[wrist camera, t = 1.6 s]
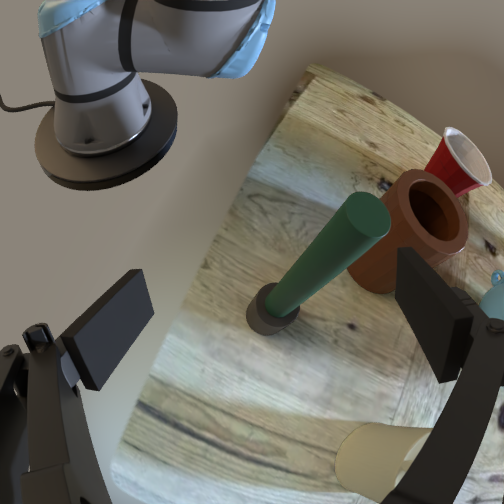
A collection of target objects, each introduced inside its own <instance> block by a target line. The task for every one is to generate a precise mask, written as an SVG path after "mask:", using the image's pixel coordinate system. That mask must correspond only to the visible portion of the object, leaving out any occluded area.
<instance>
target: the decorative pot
mask: <svg viewBox="0 0 504 504" xmlns="http://www.w3.org/2000/svg"><path fill="white" fill-rule="evenodd" d="M498 274H499V275H500V277H501V279H500V280H499V281H498ZM491 282H492V285H493V286H494V287H493V288H491V289H490V290H489V291H488V292H487V293H486V294H485V295H484V297H483V299H482V300H481V302H480V304H479V307H480V308H481V309H482V310H483V311H484V313H485V314H486V315H487V316H488V317H489V318H498V319H501V320H504V272H503V271H502V270H495V271H494V272H493V273H492V276H491Z"/></svg>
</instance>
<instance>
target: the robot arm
mask: <svg viewBox="0 0 504 504" xmlns="http://www.w3.org/2000/svg"><path fill="white" fill-rule="evenodd" d="M274 10H275V0H44V1H43V3H42V4H41V6H40V7H39V10H38V24H39V37H40V38H41V42H42V46H43V50H44V54H45V58H46V62H47V66H48V70H49V73H50V77H51V81H52V85H53V87H54V91H55V95H56V99H55V101H46V102H39V103H35V104H31V105H27V106H23V107H18V108H10V107H7V106H5V105H4V103H3V101H2V98H1V95H0V107H1V108H2V109H3V110H4V111H7V112H20V111H24V110H29V109H33V108H37V107H42V106H55V113H54V131H55V135H56V138H57V141H58V143H59V145H60V147H61V148H62V149H63V150H64V151H66V152H67V153H69V154H71V155H73V156H77V157H82V158H96V157H102V156H107V155H110V154H113V153H116V152H118V151H120V150H122V149H124V148H126V147H128V146H130V145H131V144H133V143H134V142H135V141H136V140H138V139H139V138H140V137H141V136H142V135H143V134H144V132H145V131H146V130H147V128H148V126H149V124H150V122H151V118H152V105H151V101H150V97H149V95H148V93H147V91H146V89H145V87H144V85H143V83H142V81H141V79H140V77H139V75H138V73H137V72H149V73H166V74H179V75H190V76H200V77H206V78H215V77H219V78H232V79H235V78H239V77H242V76H244V75H246V74H247V73H248V72H249V71H250V70H251V68H252V67H253V65H254V64H255V62H256V60H257V58H258V56H259V54H260V52H261V50H262V47H263V45H264V42H265V40H266V37H267V33H268V29H269V26H270V24H271V21H272V18H273V14H274ZM395 299H396V301H397V302H398V304H399V306H400V308H401V310H402V311H403V313H404V315H405V317H406V319H407V321H408V323H409V324H410V326H411V328H412V330H413V332H414V334H415V336H416V338H417V340H418V342H419V344H420V345H421V347H422V349H423V351H424V353H425V355H426V357H427V359H428V361H429V364H430V366H431V368H432V370H433V372H434V374H435V376H436V378H437V380H438V382H439V384H440V383H445V382H449V381H453V380H457V378H458V375H459V371H460V368H462V371H461V373H460V375H459V378H458V380H457V382H456V384H455V386H454V389H453V391H452V393H451V395H450V397H449V399H448V401H447V403H446V405H445V407H444V409H443V411H442V413H441V415H440V417H439V418H438V420H437V422H436V424H435V426H434V428H433V429H432V431H431V433H430V435H429V436H428V438H427V440H426V442H425V443H424V445H423V447H422V448H421V450H420V451H419V453H418V455H417V456H416V458H415V459H414V461H413V462H412V464H411V466H410V467H409V469H408V470H407V472H406V473H405V474H404V476H403V477H402V479H401V480H400V482H399V483H398V484H397V486H396V487H395V488H394V489H393V490H392V491H390V492H389V493H388V495H387V496H386V497H385V498H384V499H383V501H382V502H381V503H380V504H453V502H454V500H455V498H456V496H457V495H458V493H459V491H460V489H461V487H462V485H463V483H464V481H465V479H466V477H467V474H468V472H469V470H470V468H471V466H472V463H473V461H474V459H475V457H476V454H477V452H478V449H479V447H480V444H481V442H482V439H483V437H484V434H485V431H486V429H487V426H488V423H489V420H490V417H491V414H492V411H493V408H494V405H495V402H496V398H497V395H498V392H499V388H500V386H504V320H501V319H498V318H489V317H488V316H487V315H486V314H485V313H484V311H483V310H482V309H481V308H480V307H479V306H478V305H477V304H476V302H475V301H474V300H473V299H471V297H470V296H469V295H468V294H467V293H466V292H465V291H463V290H462V289H460V288H458V287H452V288H450V287H449V286H448V285H447V284H446V283H445V282H444V280H443V279H442V278H441V277H440V276H439V275H438V274H437V273H436V272H435V271H434V270H433V269H432V267H431V266H430V265H429V264H428V263H427V262H426V261H425V260H424V259H423V258H422V257H421V256H420V255H419V254H418V253H417V252H416V251H415V250H414V249H413V248H412V247H400V248H397V271H396V290H395ZM153 315H154V310H153V307H152V303H151V300H150V296H149V293H148V289H147V286H146V282H145V279H144V275H143V271H142V269H132V270H129V271H128V272H127V273H126V274H125V275H124V276H123V277H122V278H121V279H119V280H118V281H117V282H116V283H115V284H114V285H113V286H112V287H110V289H108V290H107V291H106V292H105V293H104V294H103V295H102V296H101V297H100V298H99V299H98V300H97V301H96V302H94V303H93V304H92V305H91V306H90V307H89V308H88V309H87V310H86V311H85V312H84V313H83V314H82V315H81V316H79V317H78V318H77V319H76V320H75V321H74V322H73V323H72V324H71V325H70V326H69V327H68V328H67V329H66V330H65V331H64V332H63V333H62V334H61V335H60V336H59V337H58V338H57V339H56V340H54V338H53V336H52V334H51V331H50V329H49V327H48V325H47V324H46V323H39V324H35V325H33V326H31V327H29V328H28V329H26V330H25V332H23V335H22V336H23V338H24V340H25V343H26V345H27V347H28V349H29V351H30V353H25V354H23V353H22V351H21V349H20V347H19V345H16V344H14V345H8V346H6V347H4V348H3V349H2V350H1V351H0V504H112V502H111V499H110V496H109V494H108V491H107V488H106V486H105V482H104V480H103V477H102V474H101V471H100V468H99V464H98V461H97V458H96V455H95V451H94V448H93V444H92V441H91V437H90V434H89V429H88V426H87V422H86V417H85V413H84V409H83V404H82V399H81V395H80V390H79V388H78V386H77V385H76V383H77V382H78V381H79V379H81V381H82V383H83V385H84V386H85V388H86V389H89V390H94V391H100V390H101V388H102V387H103V385H104V384H105V382H106V381H107V380H108V378H109V377H110V375H111V374H112V372H113V371H114V369H115V368H116V367H117V365H118V364H119V362H120V361H121V359H122V358H123V356H124V355H125V354H126V352H127V351H128V350H129V348H130V347H131V345H132V344H133V343H134V341H135V340H136V338H137V337H138V336H139V334H140V333H141V331H142V330H143V329H144V327H145V326H146V324H147V323H148V321H149V320H150V319H151V318H152V316H153ZM14 389H15V390H16V392H17V396H16V394H15V392H14ZM29 465H30V472H28V468H29ZM502 504H504V495H503V502H502Z"/></svg>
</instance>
